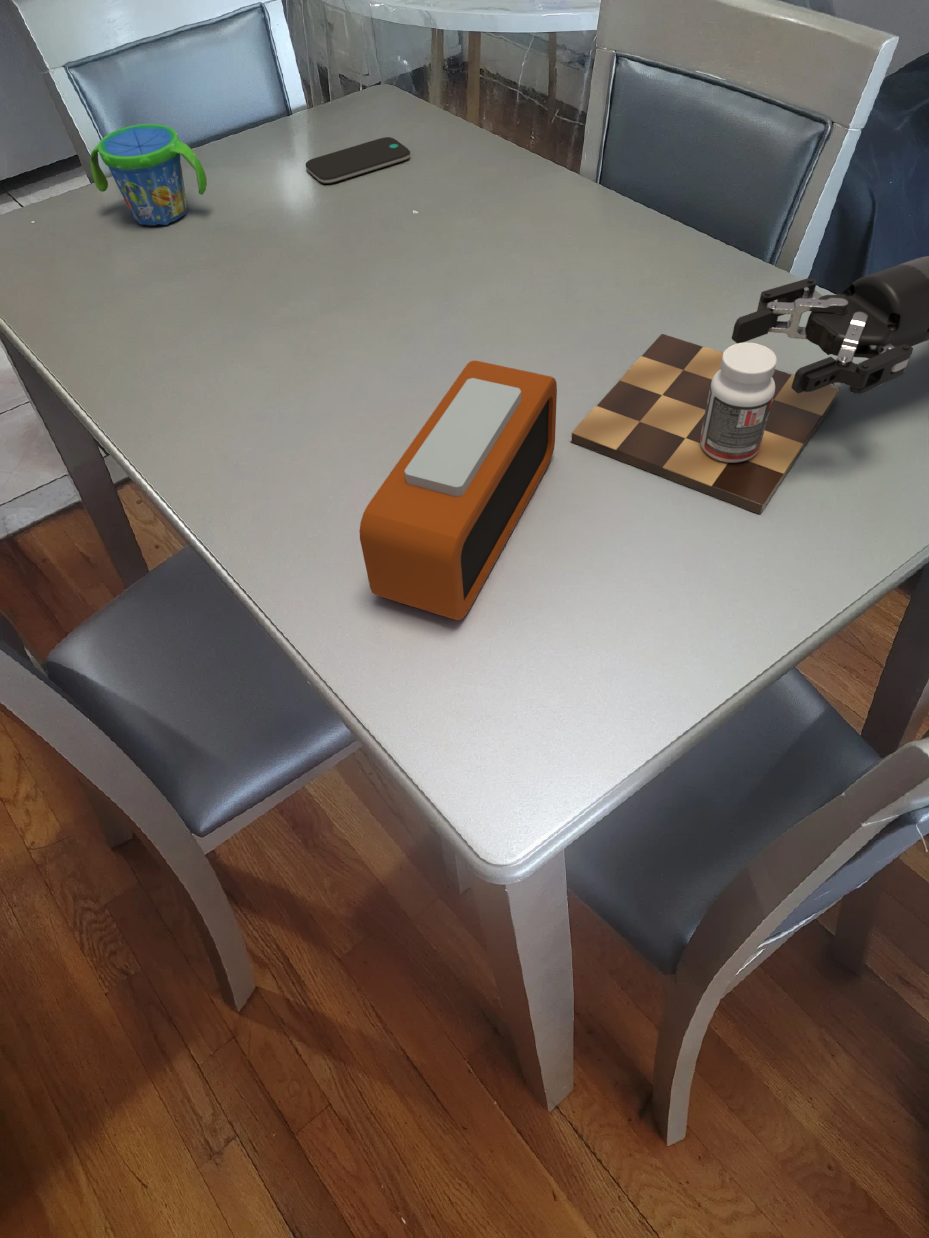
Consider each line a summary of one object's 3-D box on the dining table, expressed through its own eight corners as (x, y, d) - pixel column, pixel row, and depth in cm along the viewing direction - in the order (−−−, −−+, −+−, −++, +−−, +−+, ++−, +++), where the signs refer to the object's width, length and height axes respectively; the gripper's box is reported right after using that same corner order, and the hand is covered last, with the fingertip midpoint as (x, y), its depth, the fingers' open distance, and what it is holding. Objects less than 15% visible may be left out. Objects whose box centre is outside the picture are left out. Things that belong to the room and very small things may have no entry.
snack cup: (227, 201, 124) (207, 126, 116) (195, 238, 118) (171, 161, 110) (131, 194, 127) (105, 119, 119) (94, 229, 121) (64, 153, 113)
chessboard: (836, 398, 90) (839, 389, 89) (759, 515, 80) (762, 505, 79) (660, 342, 97) (661, 333, 96) (571, 442, 87) (571, 432, 86)
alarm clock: (459, 631, 73) (450, 537, 64) (371, 604, 75) (351, 510, 67) (555, 454, 86) (559, 357, 78) (478, 436, 89) (474, 339, 80)
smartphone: (414, 152, 129) (322, 180, 124) (414, 158, 129) (324, 186, 125) (390, 135, 133) (301, 161, 129) (391, 140, 134) (302, 167, 129)
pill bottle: (770, 457, 83) (796, 369, 75) (716, 471, 82) (736, 383, 74) (741, 421, 86) (762, 333, 79) (688, 434, 85) (705, 346, 78)
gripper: (865, 233, 82) (723, 281, 78) (982, 305, 74) (830, 362, 70) (842, 305, 88) (709, 352, 84) (948, 379, 80) (806, 435, 76)
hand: (764, 357), depth 77 cm, fingers open, 8 cm apart
